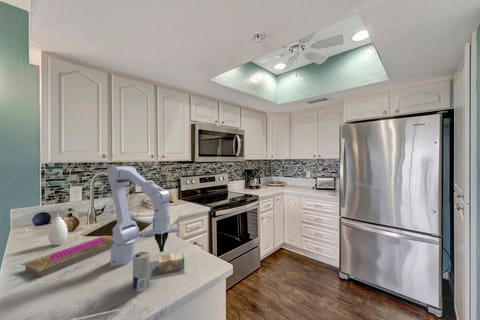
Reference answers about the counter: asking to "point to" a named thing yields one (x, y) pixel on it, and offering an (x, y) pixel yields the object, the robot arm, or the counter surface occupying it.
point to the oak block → (171, 262)
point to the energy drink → (141, 271)
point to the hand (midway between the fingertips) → (161, 250)
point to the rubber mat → (156, 274)
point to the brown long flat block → (91, 245)
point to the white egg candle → (57, 231)
